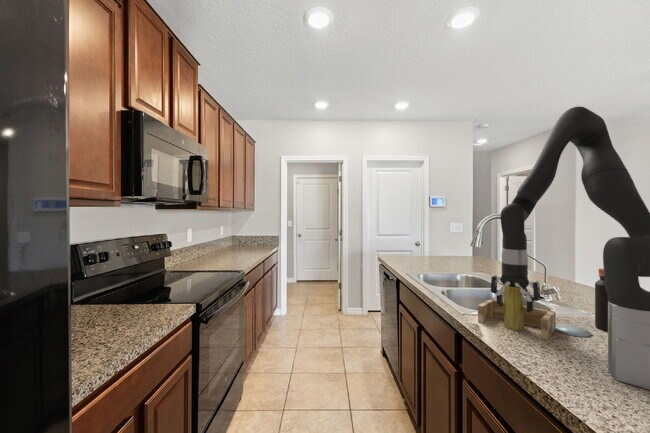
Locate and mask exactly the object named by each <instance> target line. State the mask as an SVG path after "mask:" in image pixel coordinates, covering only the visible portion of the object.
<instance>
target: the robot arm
mask: <svg viewBox="0 0 650 433" xmlns="http://www.w3.org/2000/svg"><path fill="white" fill-rule="evenodd" d="M544 143H545V144H544V145H543V148H542V150H541V152H540V153H539V156H538V158H537V160H536V162H535V163H534V165H533V167H532V168H531V169H530V172H529V173H528V175H527V176H526V177H525V179H524V180H523V182H522V183H521V184H520V186H519V187H518V189H517V191H516V192H517V193H516V195H515V196H514V198H513V199H512V201H511V203H509V204H506V205H505V206H504V207H502V209H501V211H500V216H499V217H500V218H499V219H500V226H501V233H502V242H501V243H502V246H501V247H502V251H501V277H500V276H498V275H492V276H491V278H490V279H491V281H490V283H491V284H490V293H492V294H495V295H496V300H497V304H498V305H499V306H502V305H503V302H504V294H503V293H505V285H506V286H509V287H520V292H521V293H522V294H523V297H525V299H526V300H527V301H526V306H527V312H528V313H530V312H531V311H532V310H533V308H534V302H538V301H539V300H541V287H540V282H539V281H530V280H529V278H528V276H529V275H528V274H529V273H528V270H529V267H528V266H529V265H528V264H529V259H528V257H529V256H528V250H527V247H528V245H527V243H528V242H527V241H528V240H527V239H528V238H527V235H526V232H525V221H526V220H527V219H528V218H529V217H530V215H531V214H532V212H533V210H534V209H535V207H536V205H537V203H538V202H539V201H540V199H542V197H543V196H544V195H545V193H546V192H547V190H548V189H549V188H550V187H551V185H552V184H553V182H554V179H555V178H556V175H557V170H558V167H559V163H560V159H561V157H562V156H561V155H562V154H563V152H564V150H565V149H566V147H567V145H568V144H569V143H572V144H573V145H574V146H575V148H576V149H577V151H578V152H579V154H580V156H581V158H582V163H583V165H582V169H581V176H580V178H581V182H582V185H583V187H584V190H585V192H586V195H587V197H588V199H589V200H590V202H592V204H594V205H595V206H596V207H597V208H598V209H600V211H602V212H604V213H606V214H607V216H609V217H610V218H612V219H614V220H615V221H616V222H617V223H618V224H619V225H620V226H621V227H622V228H623V229H624V231H625V232H626V233H627V235H628V236H618V237H616V236H615V237H612V238H610V239H608V240H607V242H606V243H605V244H604V247H603V250H602V262H603V264H602V265H603V268H604V279H605V288H606V291H607V294H608V332H607V359H608V360H607V368H608V369H607V371H608V373H609V374H610V375H611V376H612V377H613V378H615V380H616V381H619V382H622V383H625V384H629V385H632V386H636V387H639V388H642V389H645V390H649V391H650V291H649V290H646V289H645V288H643V287H641V284H640V280H639V279H640V278H650V211H649V208H648V207H647V205H646V204H645V202H644V200H643V198H642V196H641V195H640V192H639V191H638V189H637V186H636V185H635V182H634V180H633V178H632V177H631V175H630V172H629V170H628V169H627V167H626V166H625V164H624V162H623V160H622V158H621V157H620V155H619V154H618V151H616V149H615V147H614V146H613V143H612V139H611V137H610V133H609V131H608V127H607V124H606V122H605V120H604V118H602V117H601V116H600V115H599V114H597V113H595V112H593V110H590V109H589V108H587V107H584V106H573V107H571V108H569V109H567V110H565V111H564V112H563V113H561V114H560V116H559V118H558V119H557V120H556V122H555V123H554V126H553V127H552V129H551V132H550V134H549V136H548V138H547V140H546V142H544ZM499 282H501V283H502V286H501V287H500V288H499V289H498V283H499ZM528 286H530V287H531V289H533V294H532V293H531V292H530V291H529V289H528V288H527V287H528Z"/></svg>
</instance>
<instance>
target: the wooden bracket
mask: <svg viewBox="0 0 650 433" xmlns="http://www.w3.org/2000/svg"><path fill="white" fill-rule="evenodd" d="M523 311H524V325H528V326H531V327H536V328H540V339H543V340H549V338H550V337H551V336H552V334H554V332H555V331H556V329H555V325H556V311H552V310H547V309H543V308H542V309H541V308H538V307H533V310H532V311H531V312H530V313H528V312H527V305H523ZM491 318H496V319H497V318H498V319H502V320H504V301H503V305H502V306H499V305H498V304H497V299H491V298H490V299H487V300H485V301H484V302H482V303H480V304H478V305H477V322H478V323H481V324H484V323H485V322H487V321H489V320H490V319H491Z"/></svg>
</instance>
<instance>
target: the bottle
mask: <svg viewBox="0 0 650 433" xmlns="http://www.w3.org/2000/svg"><path fill="white" fill-rule="evenodd" d="M598 277H599V279H598V280H597V281H595V283H594V326H595V328H597V329H598V330H600V331H603V332H607V333H608V294H607V291H606V288H605V279H604V267H603V268H602V267H601V268H598Z"/></svg>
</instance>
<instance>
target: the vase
mask: <svg viewBox="0 0 650 433" xmlns="http://www.w3.org/2000/svg"><path fill="white" fill-rule="evenodd" d="M503 302H504V319H503V324H502V325H503V327H504V328H506V329H509V330H513V331H524V330H525V326H524V325H525V324H524V311H523V306H524V296H523V294H522V293H521V292H520V287H509V286H506V285H505V291H504V300H503Z"/></svg>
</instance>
